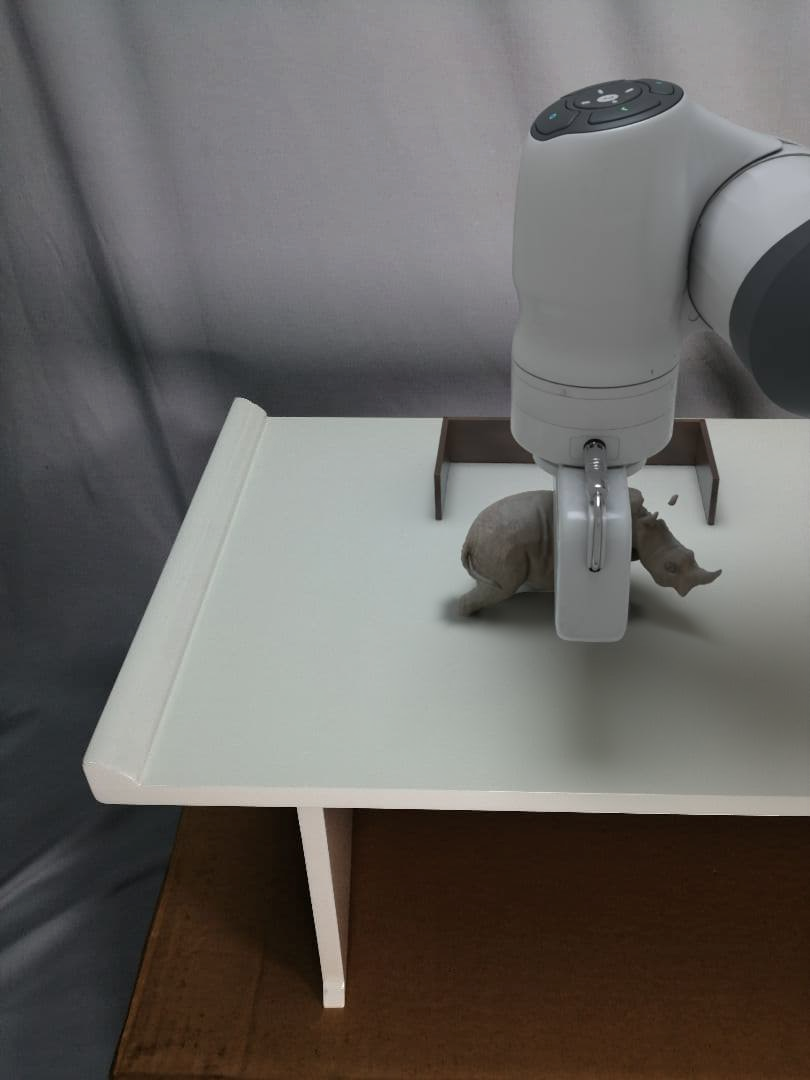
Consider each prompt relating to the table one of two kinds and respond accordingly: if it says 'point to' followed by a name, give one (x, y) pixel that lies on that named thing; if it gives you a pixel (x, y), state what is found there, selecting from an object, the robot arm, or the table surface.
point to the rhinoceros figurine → (528, 550)
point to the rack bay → (497, 444)
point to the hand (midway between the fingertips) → (581, 607)
